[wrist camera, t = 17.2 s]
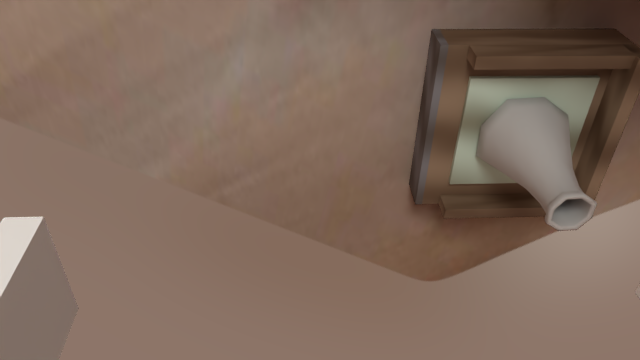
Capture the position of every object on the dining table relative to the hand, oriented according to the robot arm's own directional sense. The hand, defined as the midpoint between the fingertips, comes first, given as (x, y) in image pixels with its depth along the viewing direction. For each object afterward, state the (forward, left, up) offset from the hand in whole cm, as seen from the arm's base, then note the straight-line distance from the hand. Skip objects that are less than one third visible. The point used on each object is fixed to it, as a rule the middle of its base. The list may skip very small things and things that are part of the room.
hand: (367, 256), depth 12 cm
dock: (+15, +17, -32) cm, 39 cm away
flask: (+15, +17, -28) cm, 36 cm away
